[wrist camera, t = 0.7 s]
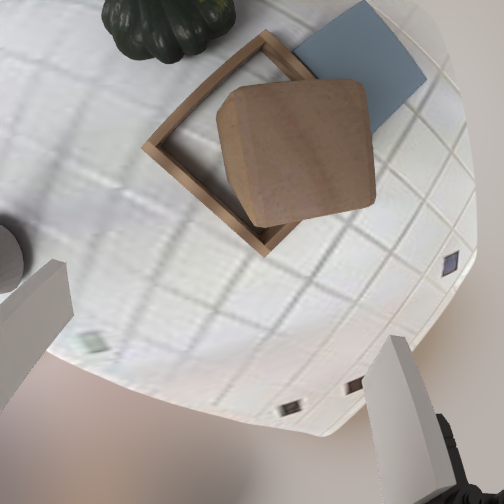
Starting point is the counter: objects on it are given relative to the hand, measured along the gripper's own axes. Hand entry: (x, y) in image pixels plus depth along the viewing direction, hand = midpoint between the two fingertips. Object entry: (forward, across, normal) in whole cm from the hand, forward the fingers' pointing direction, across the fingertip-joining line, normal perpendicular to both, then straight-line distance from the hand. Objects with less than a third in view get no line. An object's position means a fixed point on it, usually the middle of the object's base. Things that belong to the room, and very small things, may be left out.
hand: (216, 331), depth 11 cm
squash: (+30, -15, +18) cm, 38 cm away
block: (+31, -1, +4) cm, 32 cm away
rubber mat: (+36, +11, +19) cm, 42 cm away
